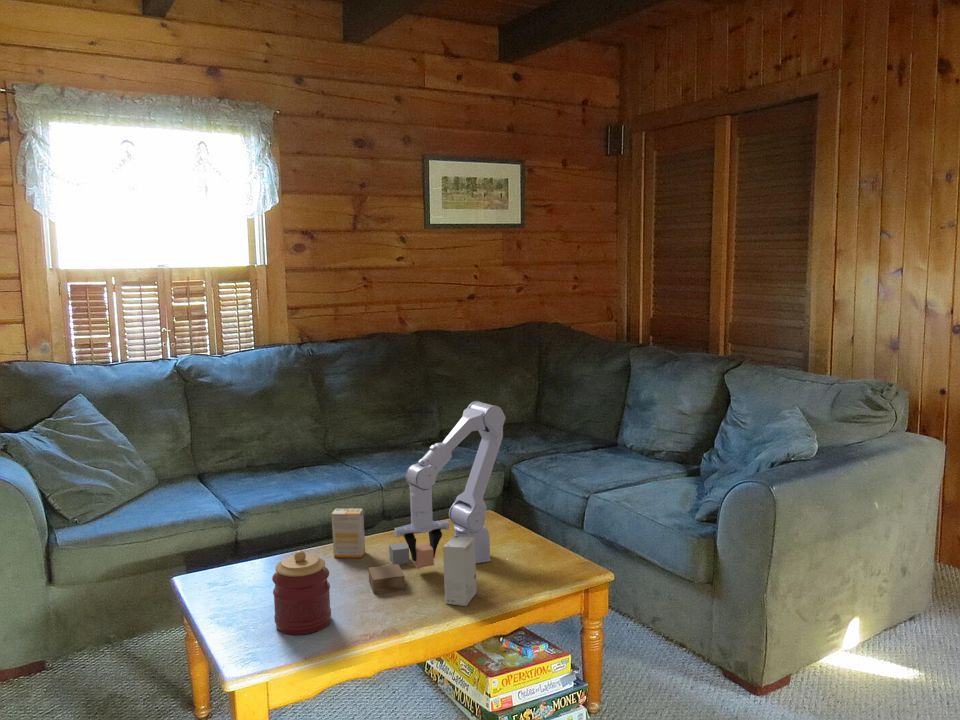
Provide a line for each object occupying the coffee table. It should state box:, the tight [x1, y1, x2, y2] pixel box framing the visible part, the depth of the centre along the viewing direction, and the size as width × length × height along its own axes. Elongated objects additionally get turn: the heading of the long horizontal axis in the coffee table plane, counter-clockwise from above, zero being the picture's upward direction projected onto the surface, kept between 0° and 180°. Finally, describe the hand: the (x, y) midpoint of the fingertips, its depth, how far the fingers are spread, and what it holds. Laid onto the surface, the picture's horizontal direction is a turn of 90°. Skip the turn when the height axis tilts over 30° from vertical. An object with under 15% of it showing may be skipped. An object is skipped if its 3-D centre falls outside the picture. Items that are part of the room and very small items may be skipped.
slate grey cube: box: [388, 541, 410, 565], centre depth 224 cm, size 4×4×4 cm
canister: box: [271, 549, 332, 636], centre depth 188 cm, size 13×13×18 cm
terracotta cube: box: [412, 542, 435, 569], centre depth 216 cm, size 4×4×4 cm
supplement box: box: [331, 507, 366, 559], centre depth 229 cm, size 8×5×13 cm, turn 84°
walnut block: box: [367, 564, 406, 595], centre depth 209 cm, size 8×8×4 cm
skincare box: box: [442, 536, 478, 607], centre depth 200 cm, size 8×6×15 cm
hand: (423, 558), depth 216 cm, fingers closed on terracotta cube, 4 cm apart
